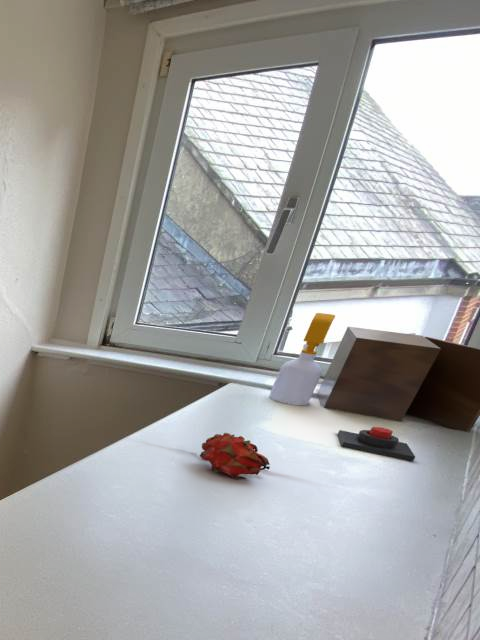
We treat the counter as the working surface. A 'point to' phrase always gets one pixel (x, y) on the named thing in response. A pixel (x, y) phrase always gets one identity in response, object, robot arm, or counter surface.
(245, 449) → the dragon fruit
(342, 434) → the red and black buzzer
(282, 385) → the soap bottle
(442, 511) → the counter surface
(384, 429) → the button
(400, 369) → the cupboard
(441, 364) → the door
